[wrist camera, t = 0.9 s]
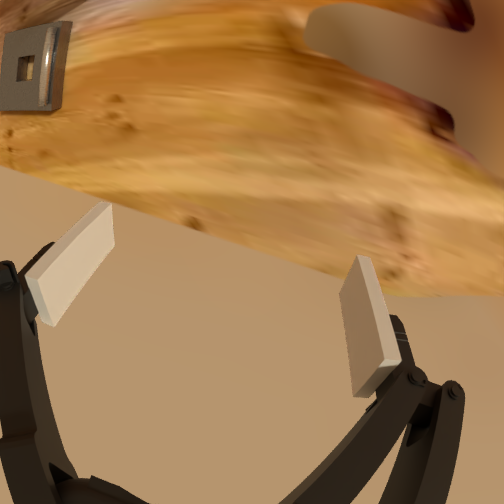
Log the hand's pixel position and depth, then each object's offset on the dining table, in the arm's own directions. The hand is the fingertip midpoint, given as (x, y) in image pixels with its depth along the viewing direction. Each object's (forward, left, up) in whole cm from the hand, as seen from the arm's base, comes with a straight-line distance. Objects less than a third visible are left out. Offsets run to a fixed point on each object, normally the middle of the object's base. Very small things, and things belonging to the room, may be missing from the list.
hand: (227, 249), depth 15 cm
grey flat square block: (-8, -38, -26) cm, 47 cm away
